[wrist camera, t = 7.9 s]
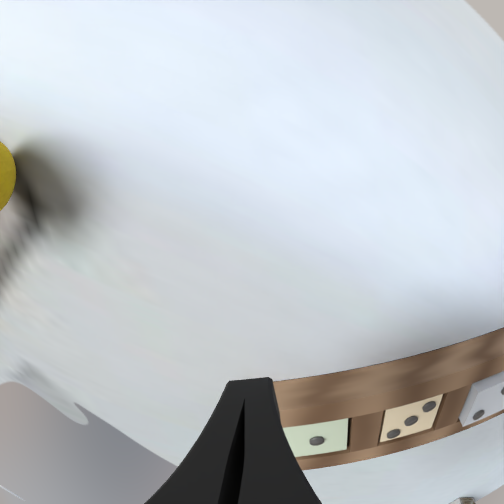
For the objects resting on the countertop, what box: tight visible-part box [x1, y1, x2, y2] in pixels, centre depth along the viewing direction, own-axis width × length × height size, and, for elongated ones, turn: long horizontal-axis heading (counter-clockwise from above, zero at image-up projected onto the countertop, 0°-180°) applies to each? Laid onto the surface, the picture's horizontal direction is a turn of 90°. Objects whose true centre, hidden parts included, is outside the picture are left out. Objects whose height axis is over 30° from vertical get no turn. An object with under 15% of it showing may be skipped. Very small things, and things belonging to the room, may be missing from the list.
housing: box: [273, 328, 504, 470], centre depth 22 cm, size 26×10×3 cm, turn 101°
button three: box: [379, 394, 443, 442], centre depth 22 cm, size 5×5×3 cm
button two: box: [459, 371, 504, 427], centre depth 20 cm, size 5×5×3 cm
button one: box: [283, 418, 348, 457], centre depth 23 cm, size 5×5×3 cm
